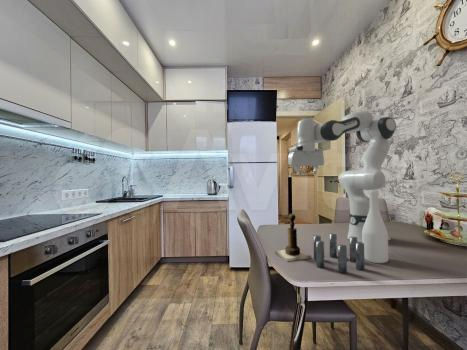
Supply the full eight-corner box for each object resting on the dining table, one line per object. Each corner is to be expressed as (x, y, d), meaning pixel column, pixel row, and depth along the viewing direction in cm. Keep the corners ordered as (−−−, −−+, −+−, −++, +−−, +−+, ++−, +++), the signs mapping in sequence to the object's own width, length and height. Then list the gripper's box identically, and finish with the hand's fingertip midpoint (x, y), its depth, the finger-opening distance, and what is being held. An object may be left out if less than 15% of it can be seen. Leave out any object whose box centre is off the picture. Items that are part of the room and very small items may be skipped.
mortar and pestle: (283, 251, 111) (282, 212, 111) (296, 250, 112) (295, 212, 112) (288, 255, 104) (287, 215, 104) (302, 255, 105) (301, 214, 105)
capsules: (341, 254, 109) (340, 232, 109) (374, 268, 92) (374, 242, 92) (304, 259, 103) (303, 236, 103) (333, 275, 86) (332, 248, 86)
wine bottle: (358, 256, 106) (357, 189, 106) (379, 255, 106) (378, 189, 106) (369, 264, 97) (368, 190, 97) (393, 263, 96) (392, 190, 96)
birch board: (297, 250, 115) (296, 248, 115) (311, 258, 105) (310, 255, 105) (275, 253, 111) (274, 251, 111) (287, 261, 101) (287, 258, 101)
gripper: (318, 149, 131) (319, 174, 131) (286, 148, 124) (286, 174, 124) (326, 148, 125) (327, 174, 125) (292, 147, 118) (293, 174, 118)
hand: (306, 174), depth 125 cm, fingers open, 8 cm apart
